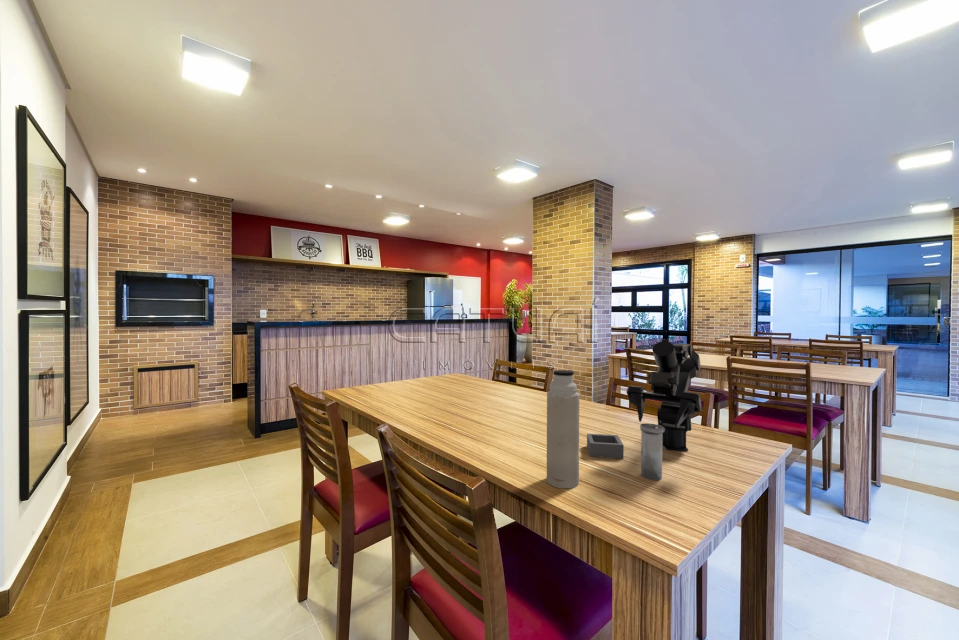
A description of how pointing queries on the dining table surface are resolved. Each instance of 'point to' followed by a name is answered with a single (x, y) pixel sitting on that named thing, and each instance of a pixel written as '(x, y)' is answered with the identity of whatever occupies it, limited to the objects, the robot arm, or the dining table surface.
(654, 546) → the dining table surface
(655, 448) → the pipe
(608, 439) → the gray square tray
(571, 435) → the thermos bottle
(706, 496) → the dining table surface
